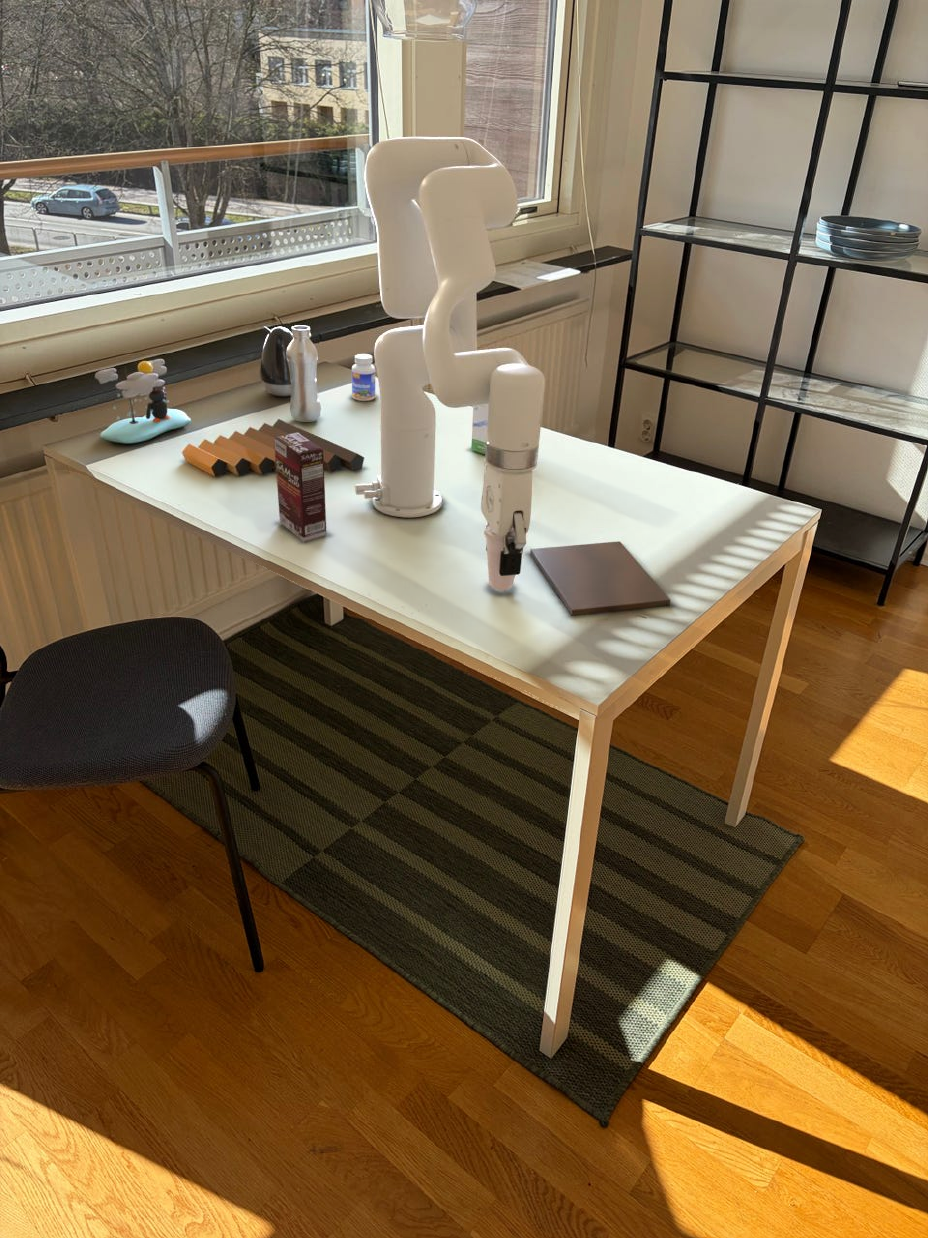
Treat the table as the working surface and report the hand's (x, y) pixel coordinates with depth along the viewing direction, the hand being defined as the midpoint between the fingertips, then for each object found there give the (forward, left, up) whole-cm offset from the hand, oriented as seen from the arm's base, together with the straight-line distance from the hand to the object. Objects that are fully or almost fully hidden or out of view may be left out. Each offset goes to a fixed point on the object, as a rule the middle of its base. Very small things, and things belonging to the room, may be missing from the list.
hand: (502, 561), depth 146 cm
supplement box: (-28, +26, -5) cm, 38 cm away
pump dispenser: (-24, +98, -5) cm, 101 cm away
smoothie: (0, 0, -4) cm, 4 cm away
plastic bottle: (-21, +79, -5) cm, 82 cm away
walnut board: (+16, 0, -5) cm, 17 cm away
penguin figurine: (-54, +77, -5) cm, 94 cm away
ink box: (+15, +57, -5) cm, 60 cm away
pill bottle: (-6, +92, -5) cm, 93 cm away
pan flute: (-30, +55, -5) cm, 63 cm away
